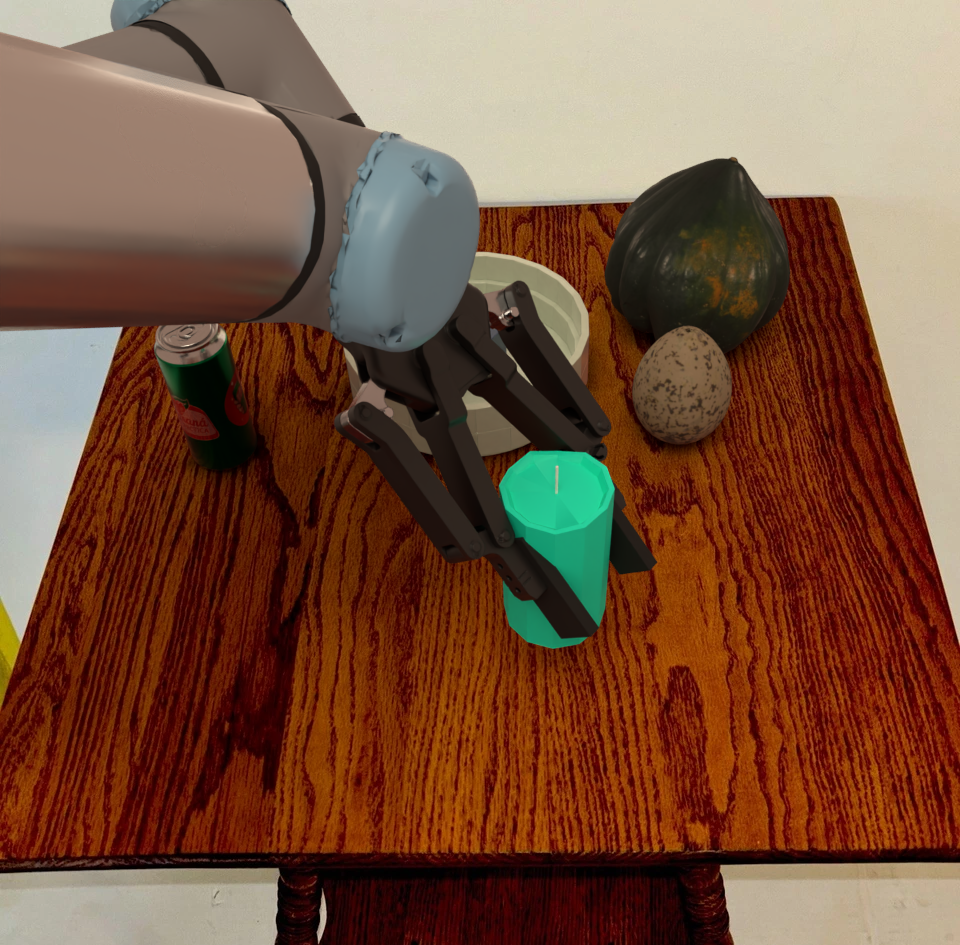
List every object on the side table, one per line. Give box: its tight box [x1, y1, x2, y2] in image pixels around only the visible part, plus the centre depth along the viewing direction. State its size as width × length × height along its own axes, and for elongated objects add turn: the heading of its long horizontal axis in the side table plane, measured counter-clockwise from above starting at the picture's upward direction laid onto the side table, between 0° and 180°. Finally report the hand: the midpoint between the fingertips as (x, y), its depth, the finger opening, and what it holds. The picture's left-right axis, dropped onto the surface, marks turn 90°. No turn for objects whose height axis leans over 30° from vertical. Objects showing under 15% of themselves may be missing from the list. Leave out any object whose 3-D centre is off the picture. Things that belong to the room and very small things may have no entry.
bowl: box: [342, 251, 590, 458], centre depth 83 cm, size 19×19×6 cm
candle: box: [498, 450, 615, 650], centre depth 57 cm, size 6×6×12 cm
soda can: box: [153, 324, 258, 472], centre depth 76 cm, size 5×5×12 cm
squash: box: [604, 156, 791, 355], centre depth 84 cm, size 14×15×15 cm
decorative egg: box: [631, 326, 733, 445], centre depth 76 cm, size 7×7×10 cm
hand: (609, 599), depth 57 cm, fingers closed on candle, 5 cm apart
